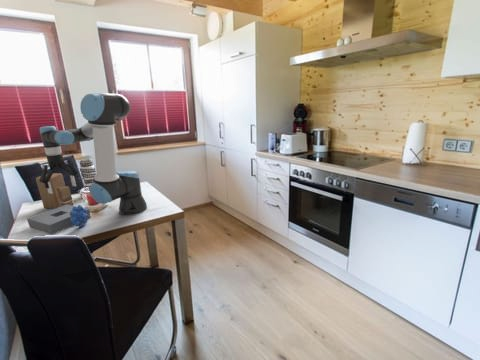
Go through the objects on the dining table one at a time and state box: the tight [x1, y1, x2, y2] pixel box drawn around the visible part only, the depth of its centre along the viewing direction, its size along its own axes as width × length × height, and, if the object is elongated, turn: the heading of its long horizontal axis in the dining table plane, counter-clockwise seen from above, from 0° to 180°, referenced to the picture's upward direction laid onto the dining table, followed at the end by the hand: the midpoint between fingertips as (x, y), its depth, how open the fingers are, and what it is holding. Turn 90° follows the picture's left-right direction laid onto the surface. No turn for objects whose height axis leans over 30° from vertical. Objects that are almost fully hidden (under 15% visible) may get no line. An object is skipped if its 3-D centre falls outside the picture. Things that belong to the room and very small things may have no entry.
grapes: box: [70, 204, 88, 228], centre depth 128 cm, size 12×7×12 cm, turn 178°
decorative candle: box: [78, 158, 97, 189], centre depth 175 cm, size 9×9×25 cm
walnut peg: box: [57, 185, 75, 206], centre depth 151 cm, size 5×5×14 cm
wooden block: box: [35, 172, 66, 209], centre depth 157 cm, size 10×10×20 cm
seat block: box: [26, 204, 92, 235], centre depth 135 cm, size 20×20×5 cm
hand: (63, 189), depth 150 cm, fingers open, 13 cm apart
